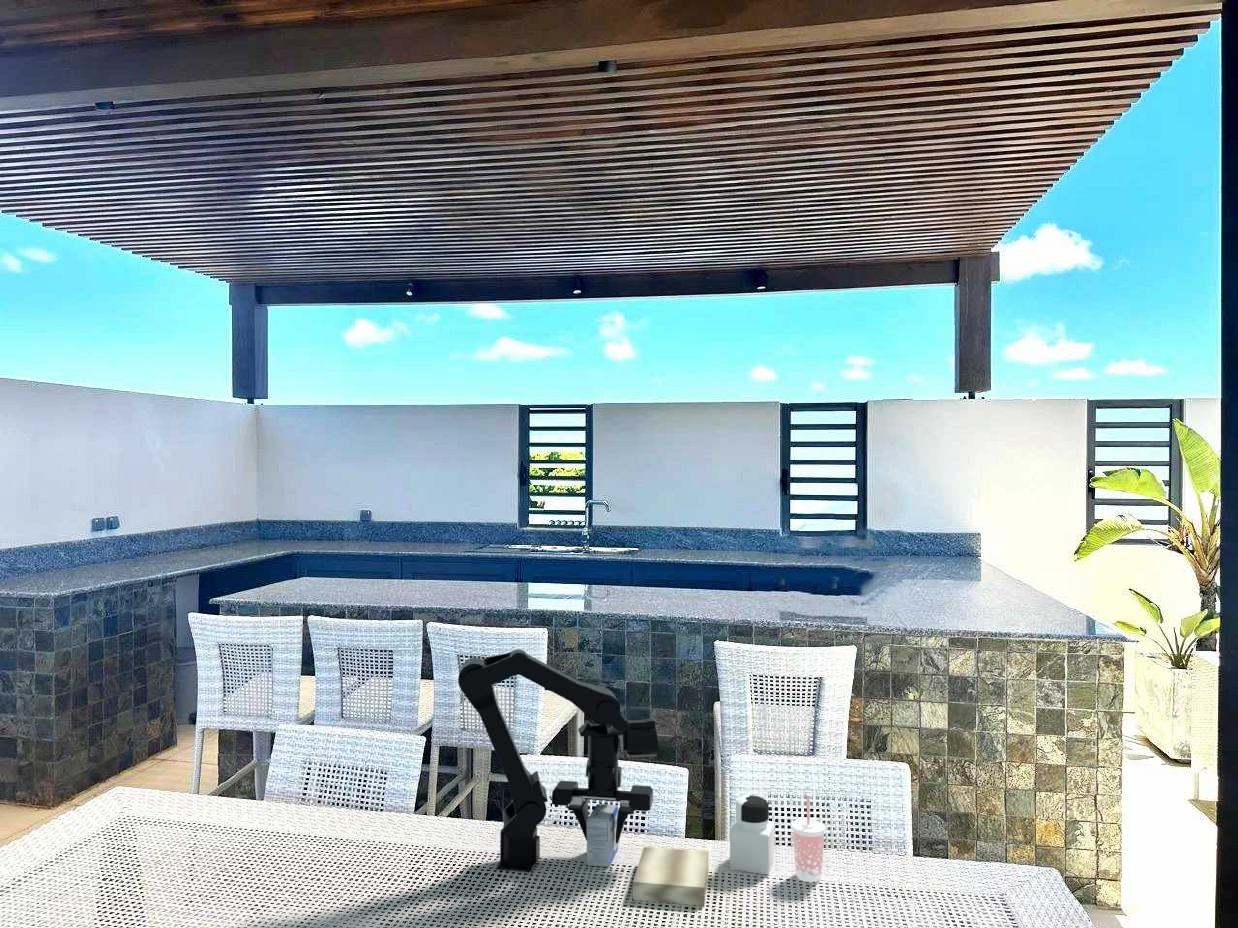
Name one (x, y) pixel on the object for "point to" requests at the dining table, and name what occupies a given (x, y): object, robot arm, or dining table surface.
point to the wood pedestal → (671, 876)
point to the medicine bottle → (752, 836)
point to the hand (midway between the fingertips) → (602, 841)
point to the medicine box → (602, 835)
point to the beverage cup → (808, 847)
